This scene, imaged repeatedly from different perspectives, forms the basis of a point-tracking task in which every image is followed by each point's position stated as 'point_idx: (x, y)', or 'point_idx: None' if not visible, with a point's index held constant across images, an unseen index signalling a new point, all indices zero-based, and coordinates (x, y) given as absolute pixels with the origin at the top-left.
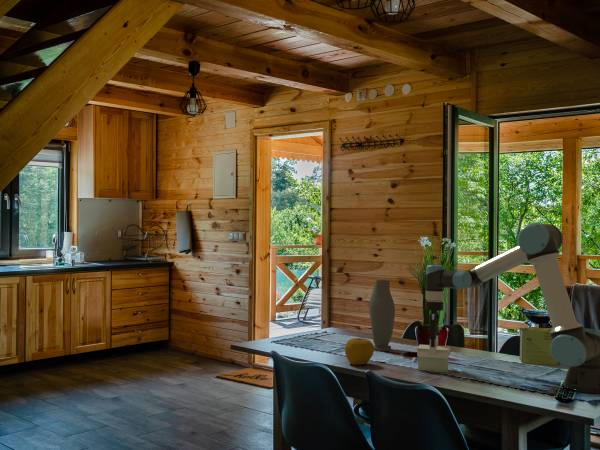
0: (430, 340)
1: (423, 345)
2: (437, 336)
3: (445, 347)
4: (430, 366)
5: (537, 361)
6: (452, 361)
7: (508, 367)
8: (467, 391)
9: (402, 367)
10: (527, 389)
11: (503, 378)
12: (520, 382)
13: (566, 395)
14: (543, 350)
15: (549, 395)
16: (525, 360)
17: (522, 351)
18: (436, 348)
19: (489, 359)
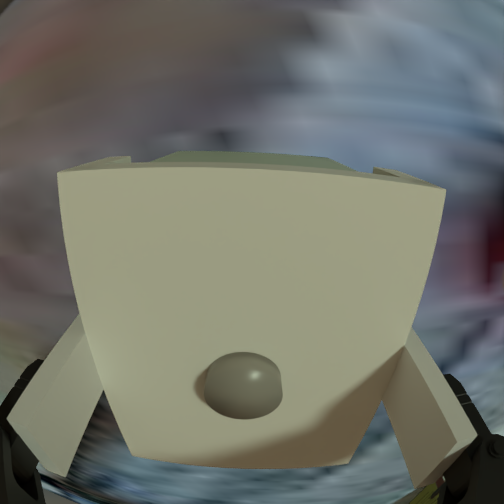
0: (21, 413)
1: (368, 248)
2: (417, 479)
3: (272, 452)
4: None
5: (420, 498)
6: (495, 335)
7: (378, 477)
8: None
9: (252, 28)
10: (78, 472)
11: (180, 474)
12: (149, 486)
13: (82, 495)
14: None
15: (59, 478)
16: (432, 487)
17: None
18: (162, 397)
19: (497, 419)
